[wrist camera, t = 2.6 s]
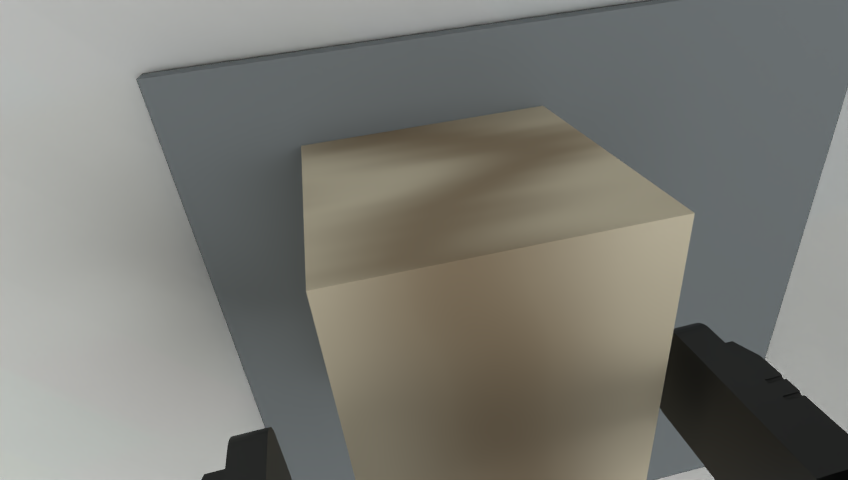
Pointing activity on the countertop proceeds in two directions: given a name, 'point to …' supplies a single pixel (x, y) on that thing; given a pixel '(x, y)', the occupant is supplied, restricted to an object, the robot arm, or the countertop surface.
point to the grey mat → (501, 92)
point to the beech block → (492, 299)
